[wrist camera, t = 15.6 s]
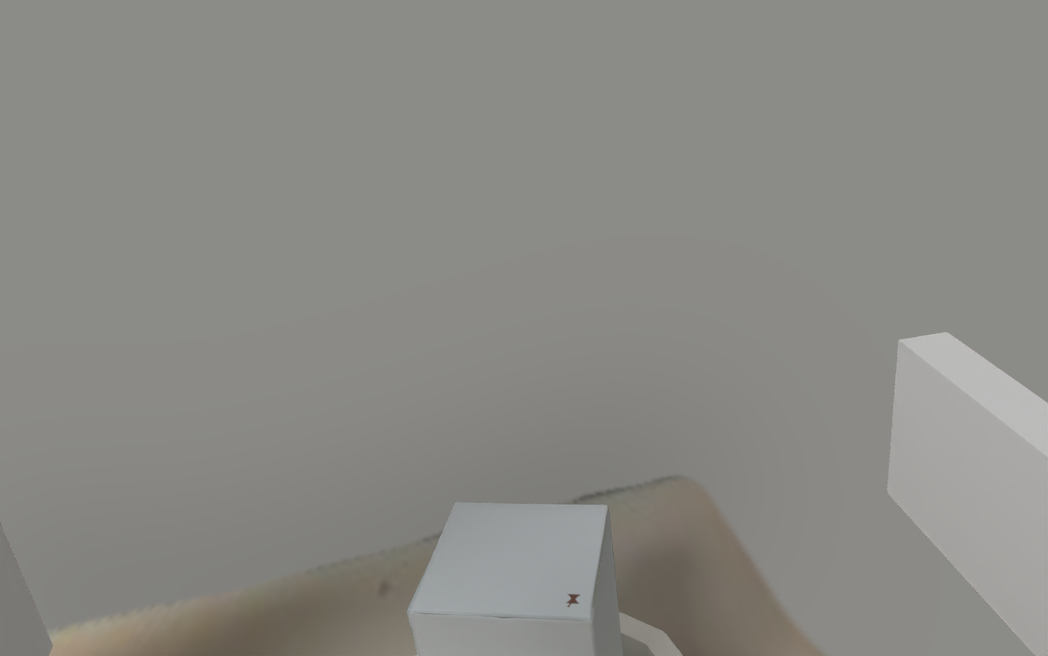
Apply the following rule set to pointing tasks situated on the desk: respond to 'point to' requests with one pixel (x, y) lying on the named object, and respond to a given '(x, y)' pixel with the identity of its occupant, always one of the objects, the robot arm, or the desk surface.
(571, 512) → the supplement box
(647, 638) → the bowl
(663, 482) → the desk surface
